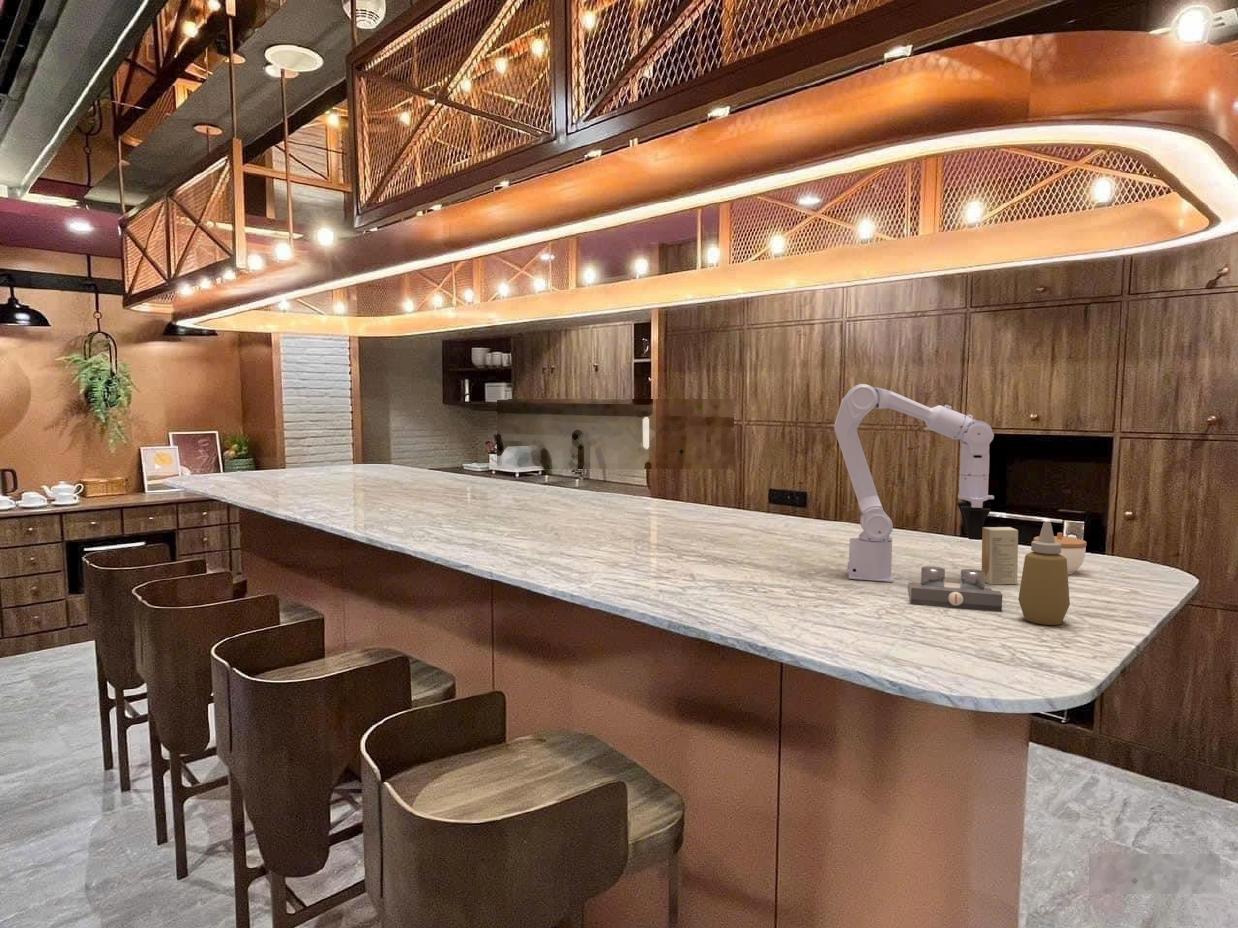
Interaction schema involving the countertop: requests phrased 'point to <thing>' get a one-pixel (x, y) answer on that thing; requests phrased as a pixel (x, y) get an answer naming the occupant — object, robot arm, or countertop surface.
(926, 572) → the block
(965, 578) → the cylinder
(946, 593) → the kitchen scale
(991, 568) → the skincare box
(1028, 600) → the squeeze bottle
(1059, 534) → the lidded jar
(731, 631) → the countertop surface
